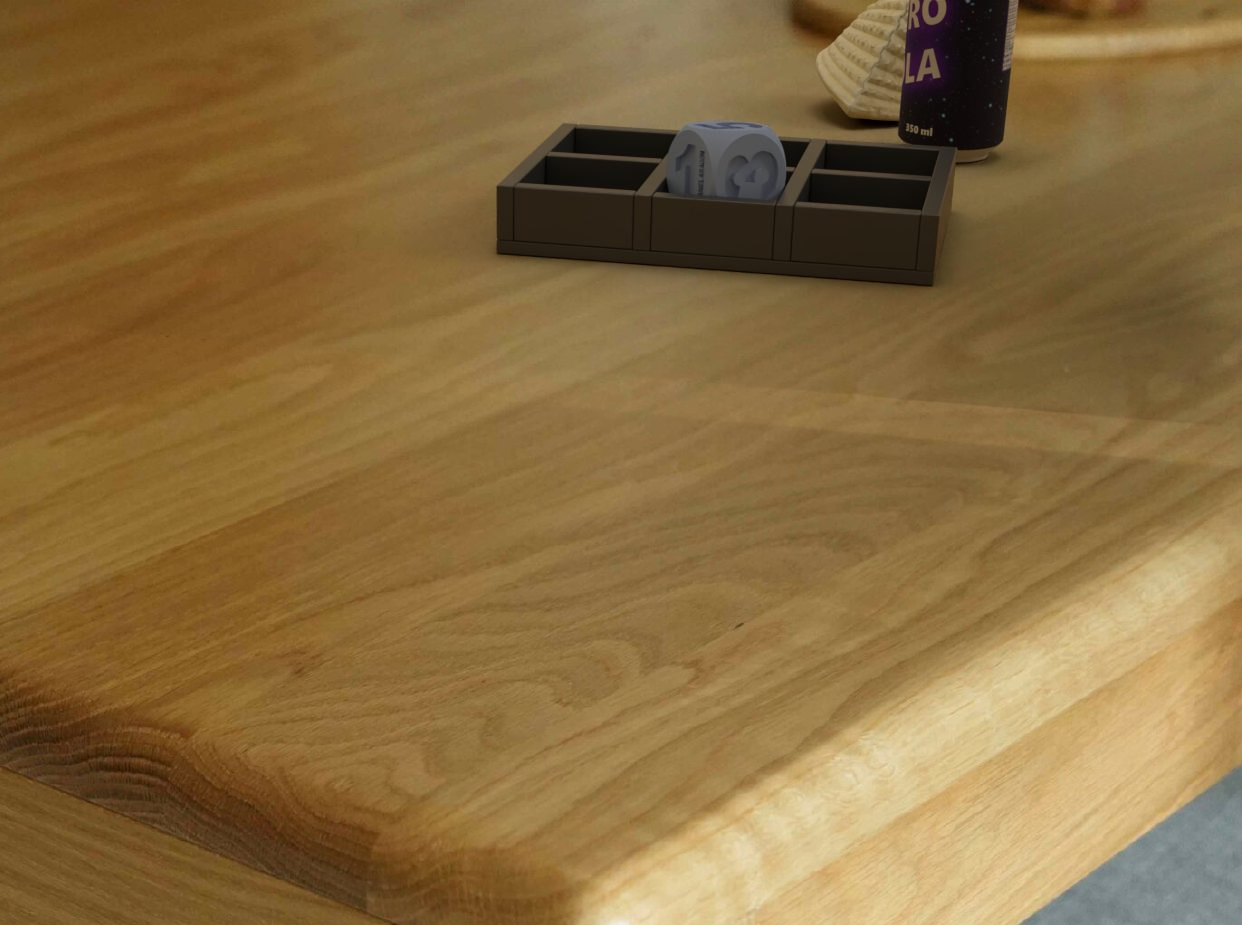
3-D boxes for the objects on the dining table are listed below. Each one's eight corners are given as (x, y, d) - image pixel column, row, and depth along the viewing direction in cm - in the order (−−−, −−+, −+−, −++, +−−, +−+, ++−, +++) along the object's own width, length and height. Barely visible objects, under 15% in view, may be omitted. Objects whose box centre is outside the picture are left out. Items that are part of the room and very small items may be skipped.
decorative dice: (663, 211, 95) (666, 122, 94) (735, 206, 97) (739, 118, 95) (711, 225, 92) (715, 132, 90) (784, 219, 94) (790, 128, 92)
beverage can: (925, 137, 116) (945, -89, 111) (1018, 151, 113) (1044, -80, 108) (878, 155, 112) (896, -78, 107) (973, 171, 109) (998, -69, 104)
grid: (951, 210, 102) (957, 147, 100) (932, 285, 90) (939, 215, 89) (561, 183, 106) (562, 122, 104) (496, 253, 94) (496, 185, 93)
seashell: (981, 63, 124) (986, 13, 116) (907, 184, 124) (906, 143, 116) (865, 0, 125) (862, -53, 117) (792, 120, 126) (783, 76, 118)
